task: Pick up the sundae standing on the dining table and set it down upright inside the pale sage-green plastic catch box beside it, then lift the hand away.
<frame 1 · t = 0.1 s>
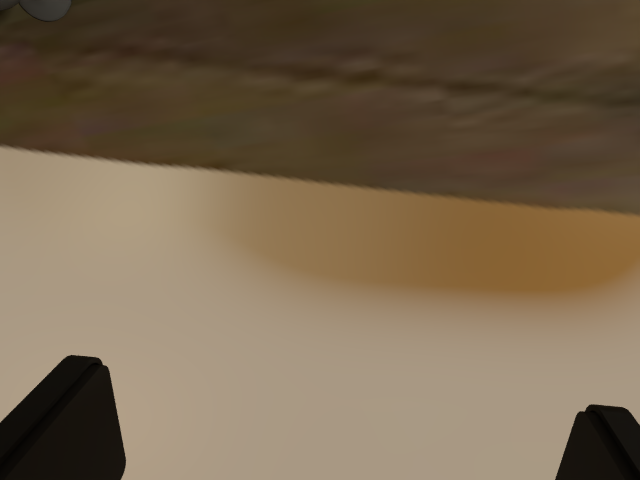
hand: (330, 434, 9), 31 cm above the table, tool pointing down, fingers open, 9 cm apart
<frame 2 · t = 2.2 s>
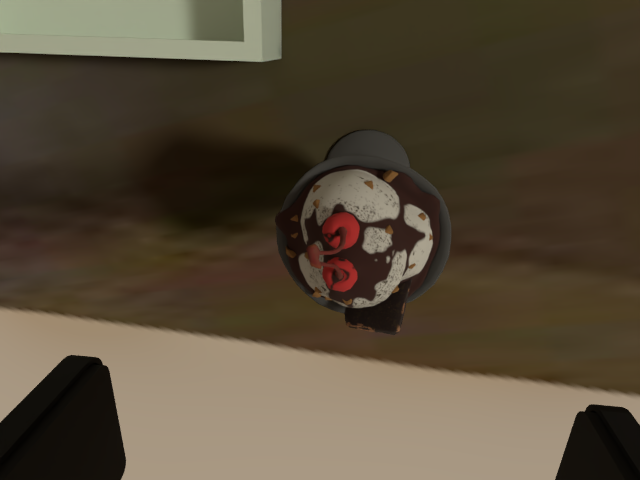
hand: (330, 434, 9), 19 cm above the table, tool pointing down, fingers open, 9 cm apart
sundae: (366, 170, 27), on the table
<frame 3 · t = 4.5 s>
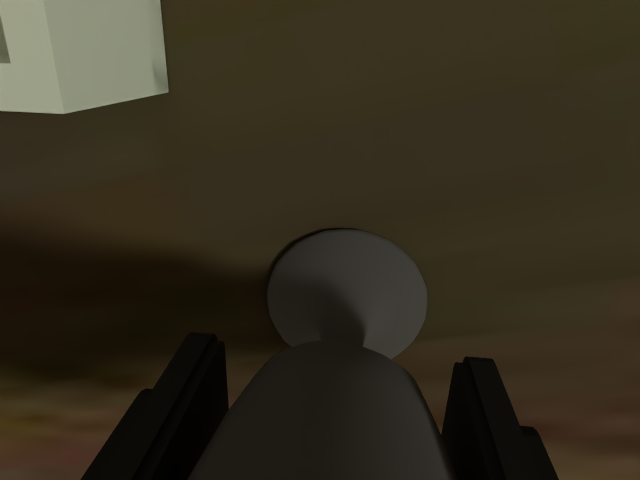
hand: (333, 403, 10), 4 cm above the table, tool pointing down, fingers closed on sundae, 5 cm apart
sundae: (344, 297, 14), on the table, touching gripper
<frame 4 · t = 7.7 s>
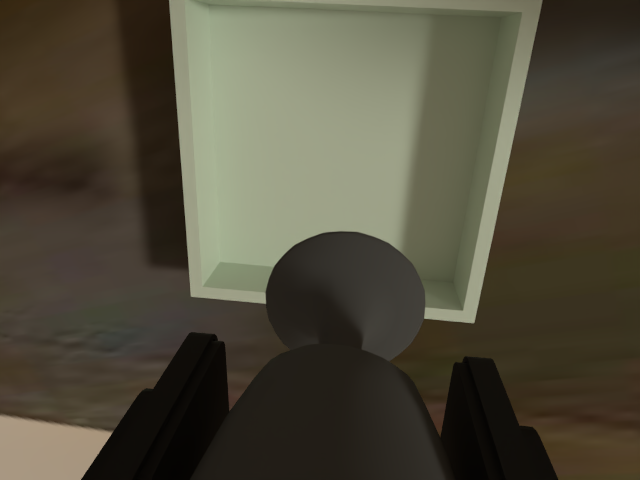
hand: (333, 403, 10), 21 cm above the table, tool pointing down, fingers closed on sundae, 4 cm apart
sundae: (342, 299, 14), point 17 cm above the table, touching gripper
catch box: (342, 153, 29), on the table
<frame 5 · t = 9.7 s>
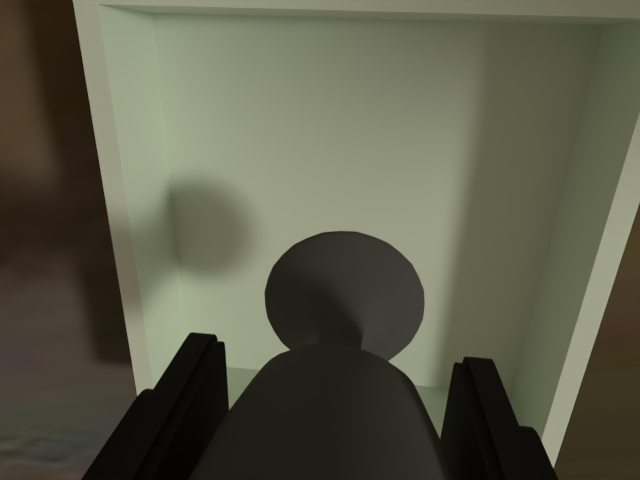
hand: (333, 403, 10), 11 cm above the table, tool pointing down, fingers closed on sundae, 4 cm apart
sundae: (342, 299, 14), point 7 cm above the table, touching gripper
catch box: (355, 221, 20), on the table
when the fingers open (7 cm above the table, at t = 11.3 s): sundae drops 2 cm, resting on catch box.
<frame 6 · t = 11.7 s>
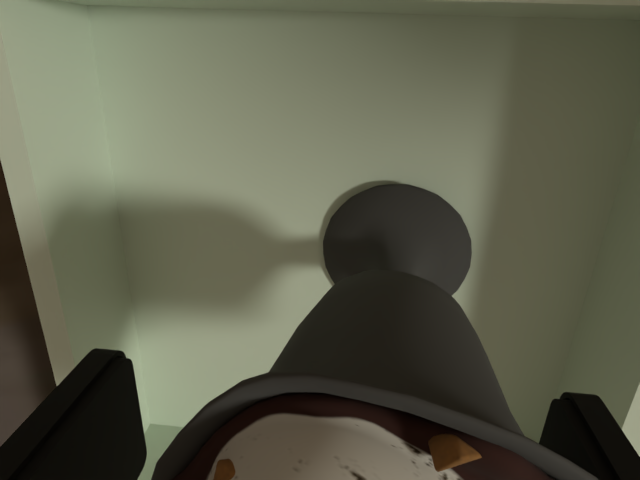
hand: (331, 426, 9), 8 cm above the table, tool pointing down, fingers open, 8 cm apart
sundae: (393, 249, 15), point 1 cm above the table, touching catch box
catch box: (347, 261, 17), on the table
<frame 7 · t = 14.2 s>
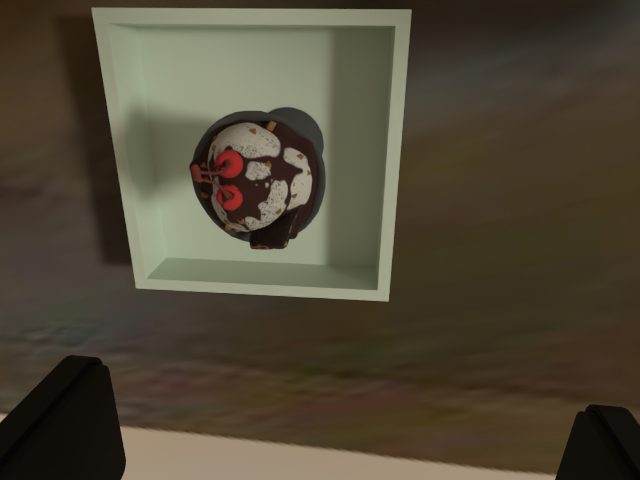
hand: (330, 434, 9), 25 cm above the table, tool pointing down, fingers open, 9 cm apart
sundae: (288, 143, 32), point 1 cm above the table, touching catch box
catch box: (267, 154, 33), on the table
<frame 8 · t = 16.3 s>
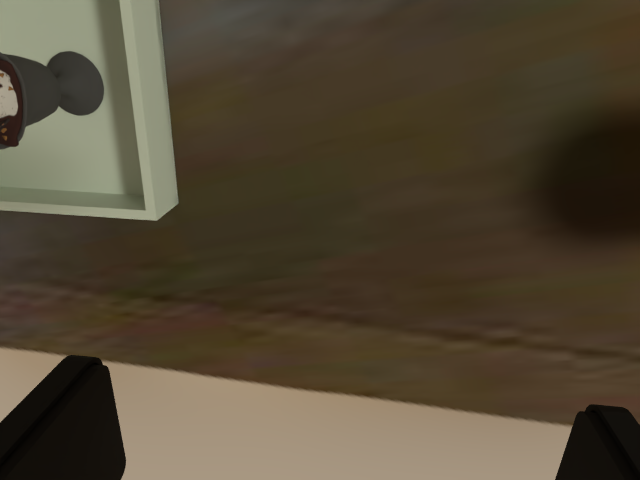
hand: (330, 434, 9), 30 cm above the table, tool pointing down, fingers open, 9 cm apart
sundae: (76, 83, 37), point 1 cm above the table, touching catch box
catch box: (64, 94, 38), on the table
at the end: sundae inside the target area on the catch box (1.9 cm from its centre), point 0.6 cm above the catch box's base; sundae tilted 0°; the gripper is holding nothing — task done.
